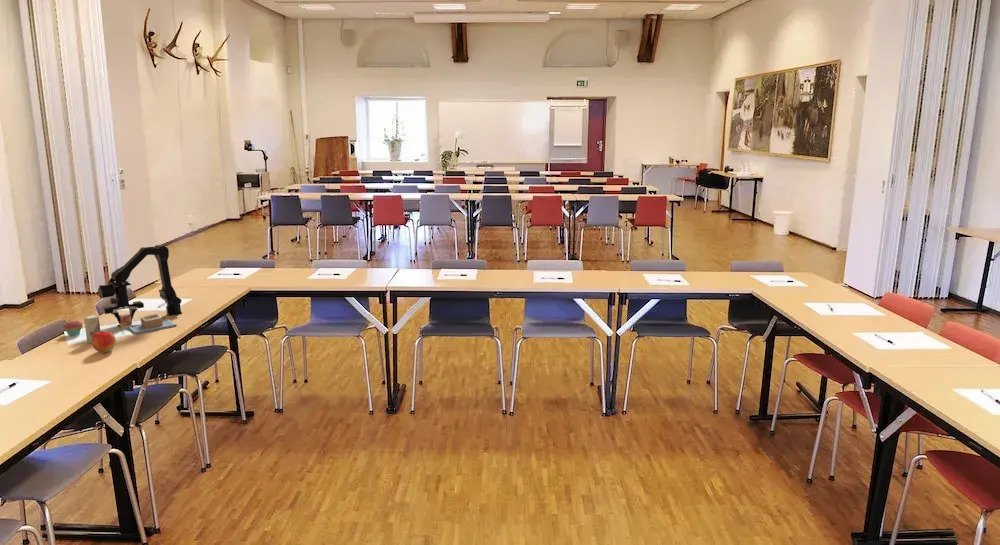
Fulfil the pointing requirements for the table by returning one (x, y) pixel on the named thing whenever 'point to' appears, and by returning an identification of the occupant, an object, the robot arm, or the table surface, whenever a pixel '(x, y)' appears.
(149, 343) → the table surface
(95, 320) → the box
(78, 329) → the cupcake
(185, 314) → the table surface
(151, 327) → the blueprint board
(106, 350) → the apple
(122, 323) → the terracotta block
